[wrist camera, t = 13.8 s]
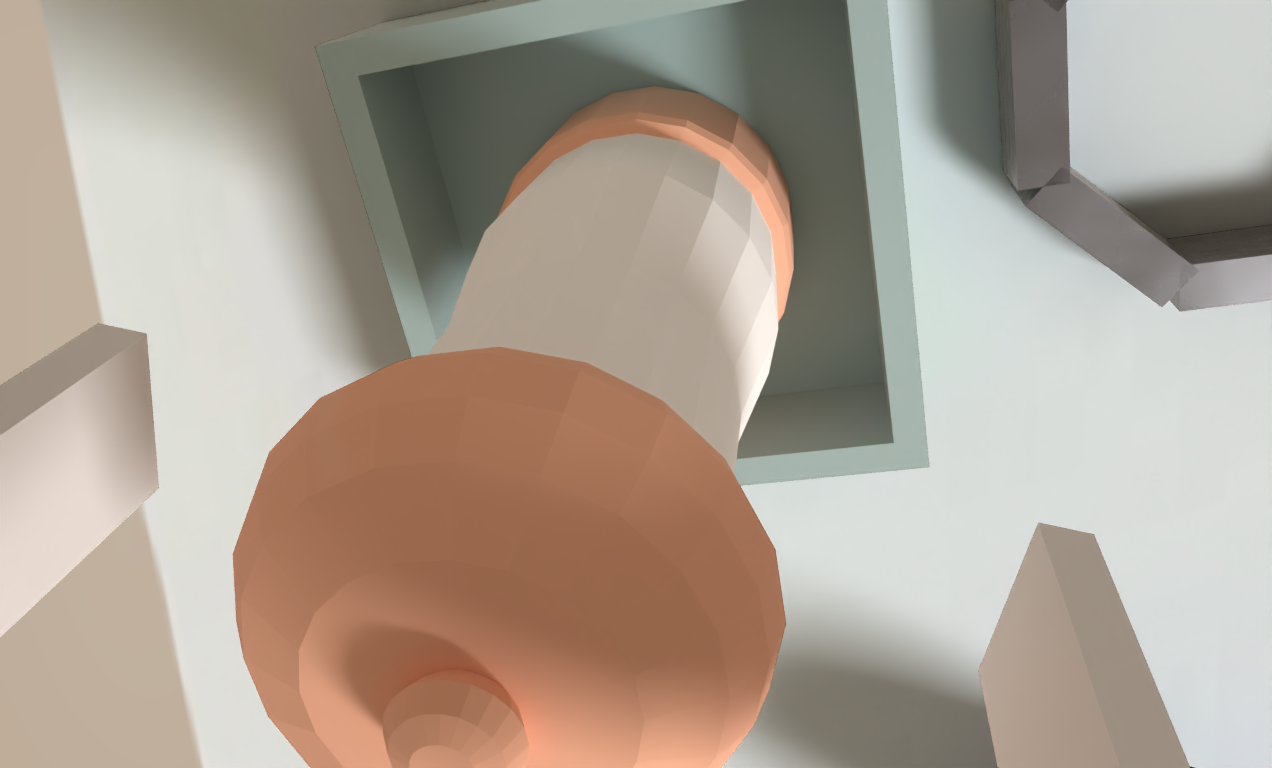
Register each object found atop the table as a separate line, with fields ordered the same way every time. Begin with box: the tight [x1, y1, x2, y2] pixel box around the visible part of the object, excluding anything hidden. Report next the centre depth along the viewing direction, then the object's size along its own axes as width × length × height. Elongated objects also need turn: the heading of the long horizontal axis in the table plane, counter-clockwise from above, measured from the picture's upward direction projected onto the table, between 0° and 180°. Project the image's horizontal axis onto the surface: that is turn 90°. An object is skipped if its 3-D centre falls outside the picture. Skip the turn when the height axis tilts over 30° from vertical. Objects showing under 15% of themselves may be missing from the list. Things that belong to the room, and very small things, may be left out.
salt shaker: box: [233, 86, 794, 768], centre depth 19 cm, size 7×7×19 cm
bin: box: [315, 0, 929, 486], centre depth 27 cm, size 13×13×4 cm
